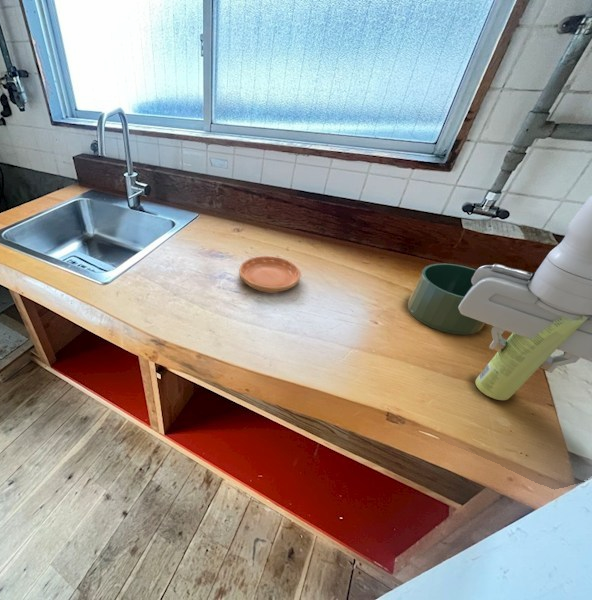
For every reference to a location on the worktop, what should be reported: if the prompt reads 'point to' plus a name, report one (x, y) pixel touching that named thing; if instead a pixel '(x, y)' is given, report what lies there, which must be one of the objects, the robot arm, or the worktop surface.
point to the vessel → (443, 299)
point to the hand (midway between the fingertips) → (519, 358)
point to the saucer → (269, 273)
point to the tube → (523, 358)
